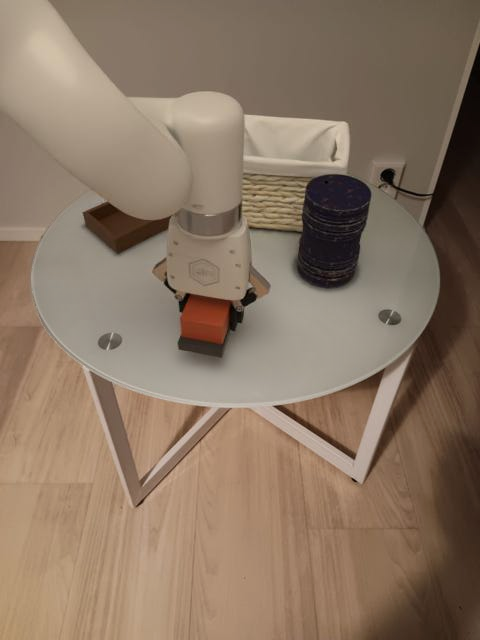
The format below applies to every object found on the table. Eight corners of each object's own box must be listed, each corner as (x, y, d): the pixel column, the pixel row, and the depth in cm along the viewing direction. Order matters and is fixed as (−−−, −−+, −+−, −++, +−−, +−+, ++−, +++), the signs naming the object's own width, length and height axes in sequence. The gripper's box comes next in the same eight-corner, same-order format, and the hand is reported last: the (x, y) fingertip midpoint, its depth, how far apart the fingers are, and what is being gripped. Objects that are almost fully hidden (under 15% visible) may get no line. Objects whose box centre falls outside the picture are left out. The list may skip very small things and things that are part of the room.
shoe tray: (117, 253, 88) (114, 239, 86) (85, 226, 93) (82, 212, 91) (196, 214, 96) (196, 200, 94) (163, 190, 101) (161, 177, 99)
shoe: (222, 358, 67) (222, 332, 63) (178, 349, 67) (175, 323, 64) (242, 296, 75) (243, 270, 71) (202, 289, 75) (201, 263, 72)
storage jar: (367, 275, 84) (386, 198, 73) (319, 296, 81) (332, 218, 70) (330, 243, 90) (343, 167, 79) (284, 261, 87) (291, 184, 76)
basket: (205, 227, 93) (200, 153, 82) (221, 180, 104) (220, 109, 93) (336, 241, 90) (350, 166, 80) (339, 191, 101) (351, 119, 91)
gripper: (124, 217, 56) (143, 327, 69) (278, 241, 54) (267, 351, 67) (148, 182, 61) (161, 291, 74) (289, 202, 59) (277, 311, 72)
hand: (211, 318), depth 71 cm, fingers closed on shoe, 6 cm apart
